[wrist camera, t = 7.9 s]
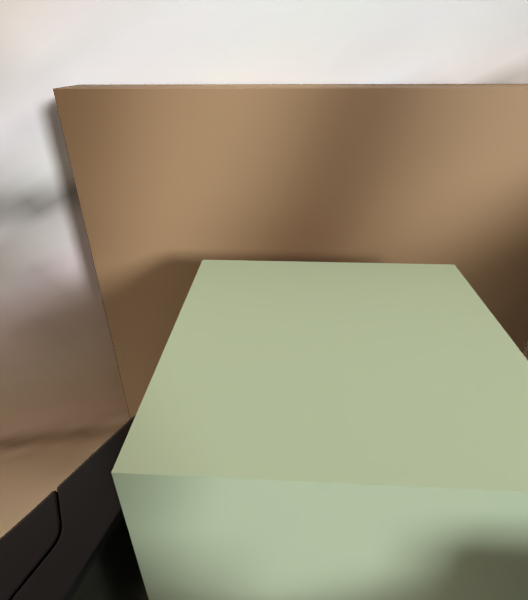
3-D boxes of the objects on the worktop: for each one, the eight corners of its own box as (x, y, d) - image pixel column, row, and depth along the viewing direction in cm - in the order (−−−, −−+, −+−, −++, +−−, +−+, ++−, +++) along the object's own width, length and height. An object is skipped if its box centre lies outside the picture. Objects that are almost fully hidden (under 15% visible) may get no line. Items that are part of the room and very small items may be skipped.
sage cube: (454, 264, 8) (631, 496, 4) (410, 439, 11) (489, 696, 6) (202, 259, 8) (111, 473, 4) (217, 432, 11) (170, 673, 7)
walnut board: (586, 83, 9) (625, 88, 8) (462, 441, 14) (475, 471, 13) (79, 84, 9) (52, 88, 8) (149, 428, 15) (139, 456, 14)
